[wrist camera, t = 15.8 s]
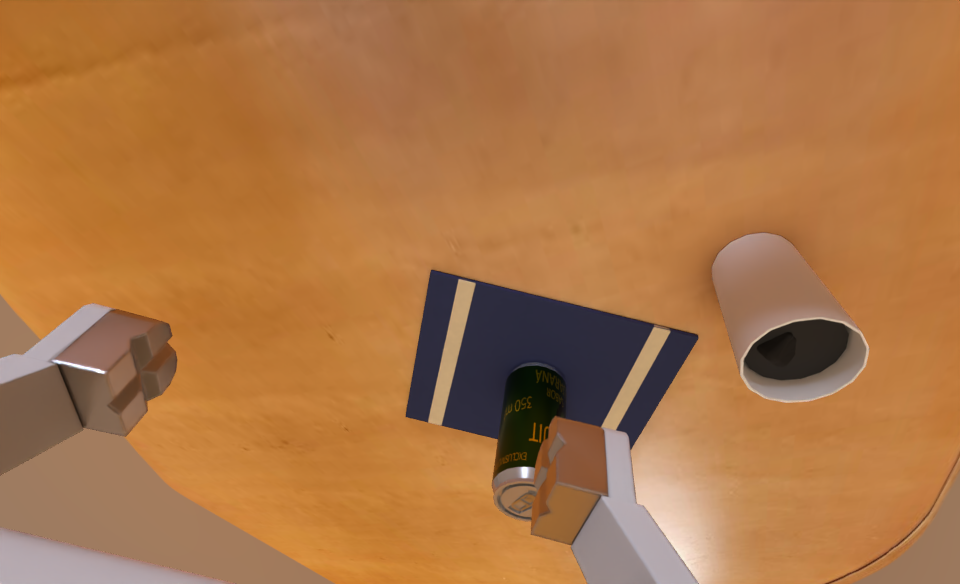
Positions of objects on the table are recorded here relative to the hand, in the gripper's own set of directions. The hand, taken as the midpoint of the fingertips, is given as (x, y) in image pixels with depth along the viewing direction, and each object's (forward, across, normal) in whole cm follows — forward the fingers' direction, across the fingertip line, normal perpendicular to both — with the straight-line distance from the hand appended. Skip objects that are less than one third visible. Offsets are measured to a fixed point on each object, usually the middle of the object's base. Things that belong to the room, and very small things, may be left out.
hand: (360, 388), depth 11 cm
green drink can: (+27, -9, +25) cm, 38 cm away
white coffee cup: (+27, -21, +9) cm, 36 cm away
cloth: (+27, -9, +25) cm, 38 cm away
